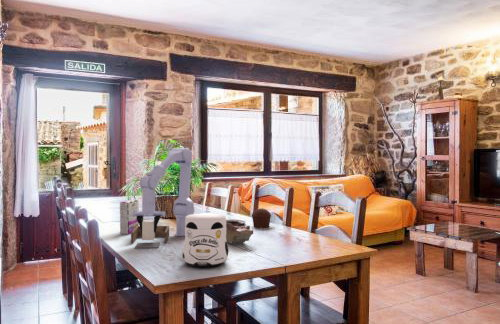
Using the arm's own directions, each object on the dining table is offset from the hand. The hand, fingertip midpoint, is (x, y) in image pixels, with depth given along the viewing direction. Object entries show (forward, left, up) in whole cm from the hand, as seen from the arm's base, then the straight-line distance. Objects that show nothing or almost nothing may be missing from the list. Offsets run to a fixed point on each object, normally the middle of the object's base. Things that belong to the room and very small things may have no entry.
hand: (148, 232), depth 180 cm
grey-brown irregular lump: (-41, 0, -6) cm, 41 cm away
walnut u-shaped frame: (0, -10, -5) cm, 11 cm away
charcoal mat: (0, +3, -5) cm, 6 cm away
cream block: (0, 0, -3) cm, 3 cm away
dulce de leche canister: (-25, +33, -6) cm, 42 cm away
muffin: (-58, -38, -6) cm, 69 cm away
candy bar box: (+13, -28, -6) cm, 31 cm away
